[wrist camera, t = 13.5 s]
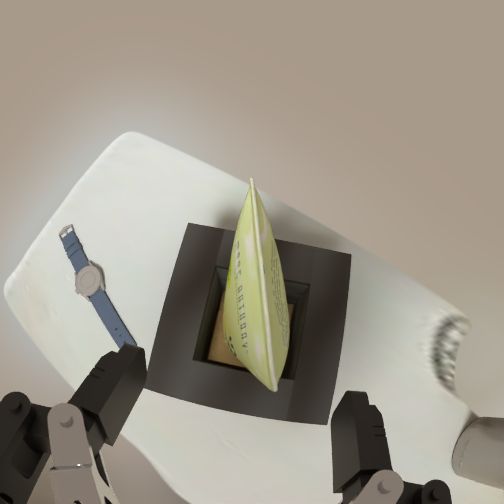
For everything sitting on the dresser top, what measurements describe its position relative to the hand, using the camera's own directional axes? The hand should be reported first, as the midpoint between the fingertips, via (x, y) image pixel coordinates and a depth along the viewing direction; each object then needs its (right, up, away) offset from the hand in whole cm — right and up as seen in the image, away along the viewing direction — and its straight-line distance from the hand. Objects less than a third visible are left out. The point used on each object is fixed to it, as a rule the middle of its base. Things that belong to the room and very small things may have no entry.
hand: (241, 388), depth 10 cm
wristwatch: (-19, +1, +21) cm, 29 cm away
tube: (0, -3, +17) cm, 17 cm away
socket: (0, -3, +19) cm, 20 cm away
